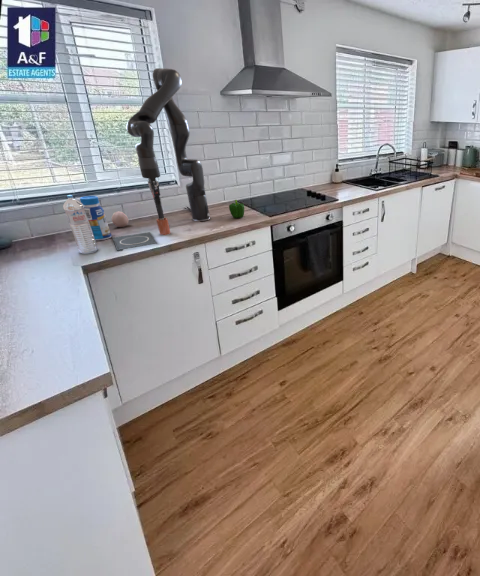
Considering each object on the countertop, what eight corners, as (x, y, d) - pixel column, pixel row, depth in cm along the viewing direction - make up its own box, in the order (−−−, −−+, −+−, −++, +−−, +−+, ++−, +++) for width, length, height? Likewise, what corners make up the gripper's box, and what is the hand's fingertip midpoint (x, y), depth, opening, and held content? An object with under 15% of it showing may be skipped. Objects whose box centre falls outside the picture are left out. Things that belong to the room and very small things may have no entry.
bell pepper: (242, 219, 215) (240, 202, 211) (228, 218, 215) (226, 201, 211) (247, 215, 223) (245, 198, 218) (234, 214, 223) (231, 198, 218)
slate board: (112, 238, 180) (112, 237, 180) (150, 233, 189) (149, 231, 189) (117, 251, 166) (117, 249, 166) (157, 244, 175) (157, 242, 175)
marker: (158, 219, 185) (151, 192, 179) (164, 218, 186) (157, 192, 180) (159, 220, 183) (152, 193, 177) (165, 219, 184) (158, 193, 179)
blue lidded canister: (89, 237, 180) (75, 196, 171) (109, 234, 186) (97, 194, 177) (93, 242, 175) (79, 200, 166) (114, 238, 181) (101, 197, 172)
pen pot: (159, 233, 188) (155, 218, 185) (169, 232, 191) (166, 217, 188) (161, 236, 185) (157, 221, 182) (171, 234, 188) (168, 219, 184)
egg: (133, 225, 200) (128, 209, 196) (125, 229, 193) (120, 213, 190) (119, 224, 199) (114, 209, 196) (111, 228, 193) (106, 213, 189)
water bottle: (78, 255, 160) (57, 197, 149) (81, 250, 166) (61, 194, 155) (97, 253, 163) (78, 196, 152) (99, 248, 169) (81, 193, 157)
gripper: (161, 168, 171) (169, 205, 178) (155, 164, 180) (163, 199, 188) (142, 169, 166) (151, 207, 174) (137, 165, 176) (146, 201, 184)
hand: (157, 203), depth 181 cm, fingers closed on marker, 2 cm apart
